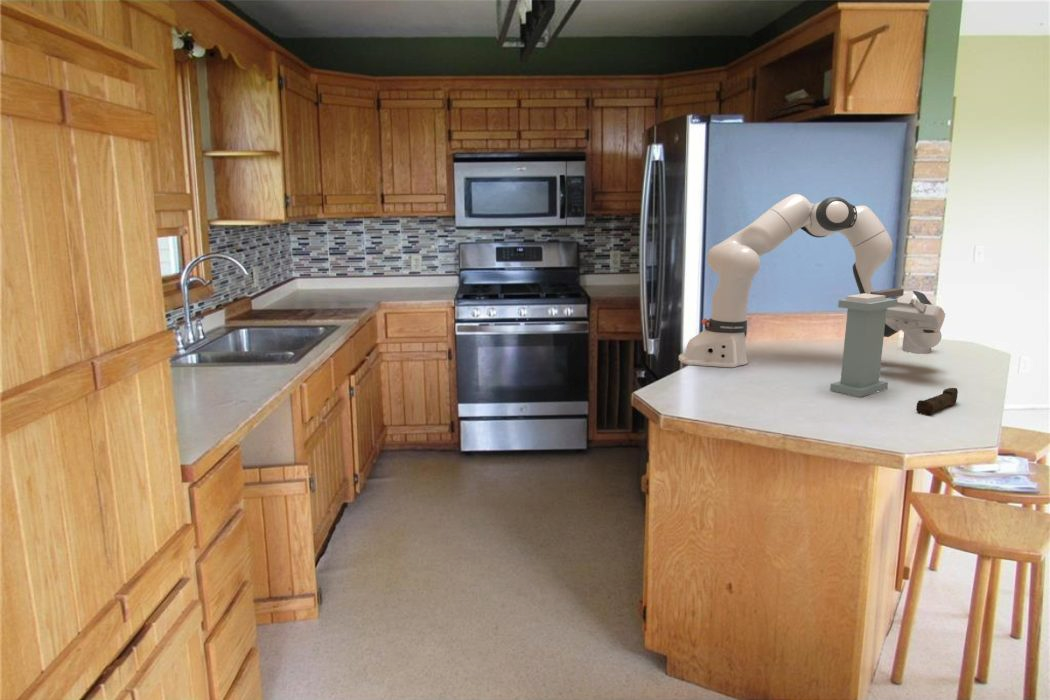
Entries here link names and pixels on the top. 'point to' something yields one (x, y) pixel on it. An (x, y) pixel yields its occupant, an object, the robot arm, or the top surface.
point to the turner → (875, 295)
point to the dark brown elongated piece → (937, 402)
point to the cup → (913, 347)
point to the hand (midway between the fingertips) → (896, 299)
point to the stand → (863, 347)
